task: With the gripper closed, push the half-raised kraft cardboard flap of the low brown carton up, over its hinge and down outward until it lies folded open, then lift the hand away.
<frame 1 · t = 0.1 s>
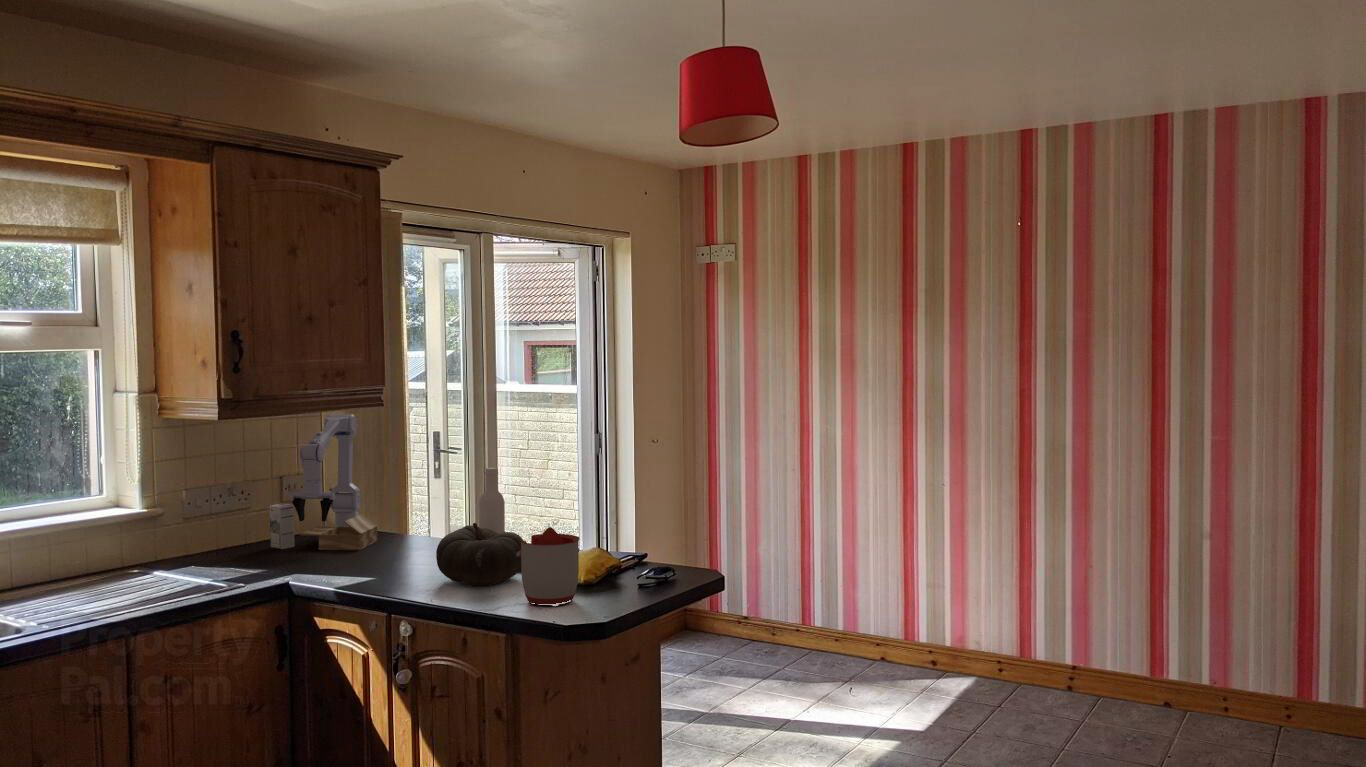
hand: (313, 520, 344), 10 cm above the worktop, fingers open, 7 cm apart
carton flap: (360, 524, 354), point 7 cm above the worktop, hinge at 35.0°
gourd: (482, 581, 301), on the worktop
citrus juicer: (547, 602, 275), on the worktop
syrup box: (282, 548, 351), on the worktop
bottle: (492, 564, 323), on the worktop
carton: (348, 545, 354), on the worktop
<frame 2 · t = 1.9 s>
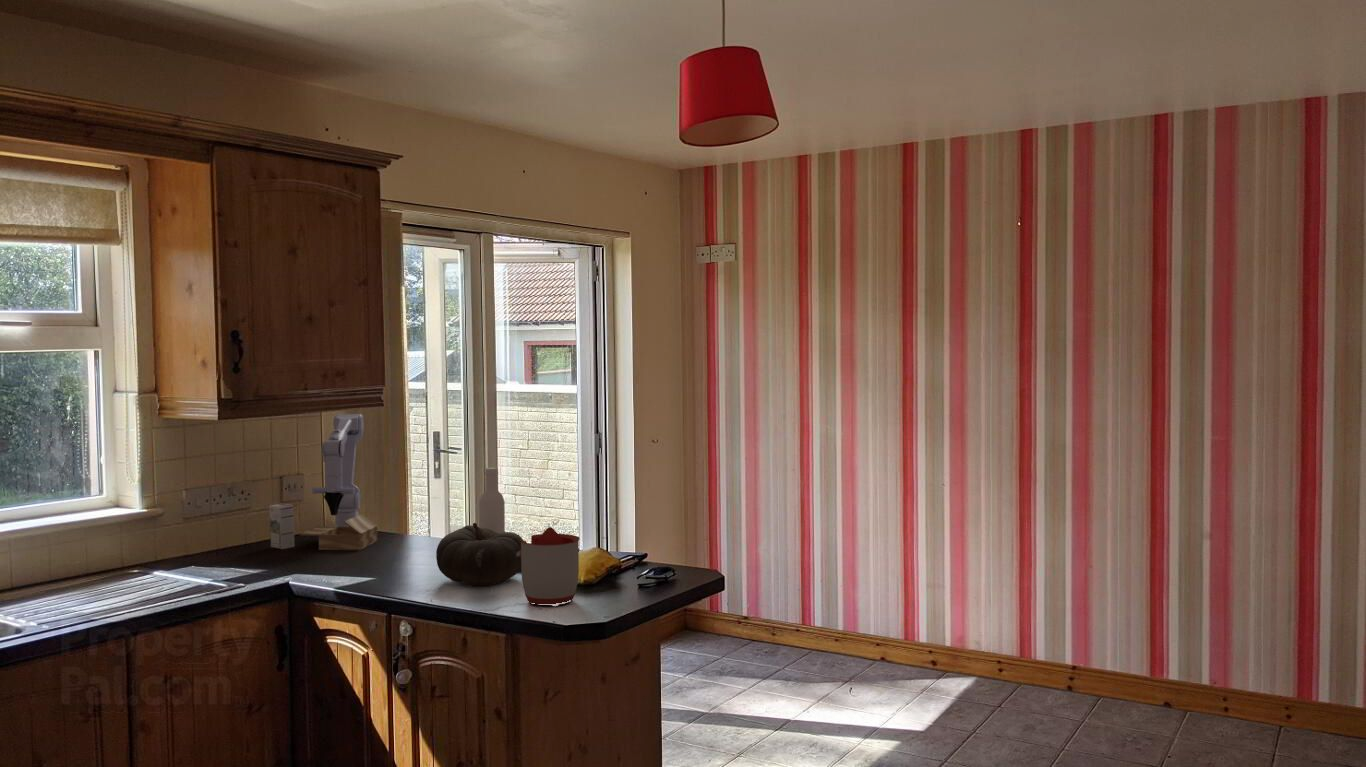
hand: (334, 514, 354), 10 cm above the worktop, fingers closed
nothing on the worktop moved.
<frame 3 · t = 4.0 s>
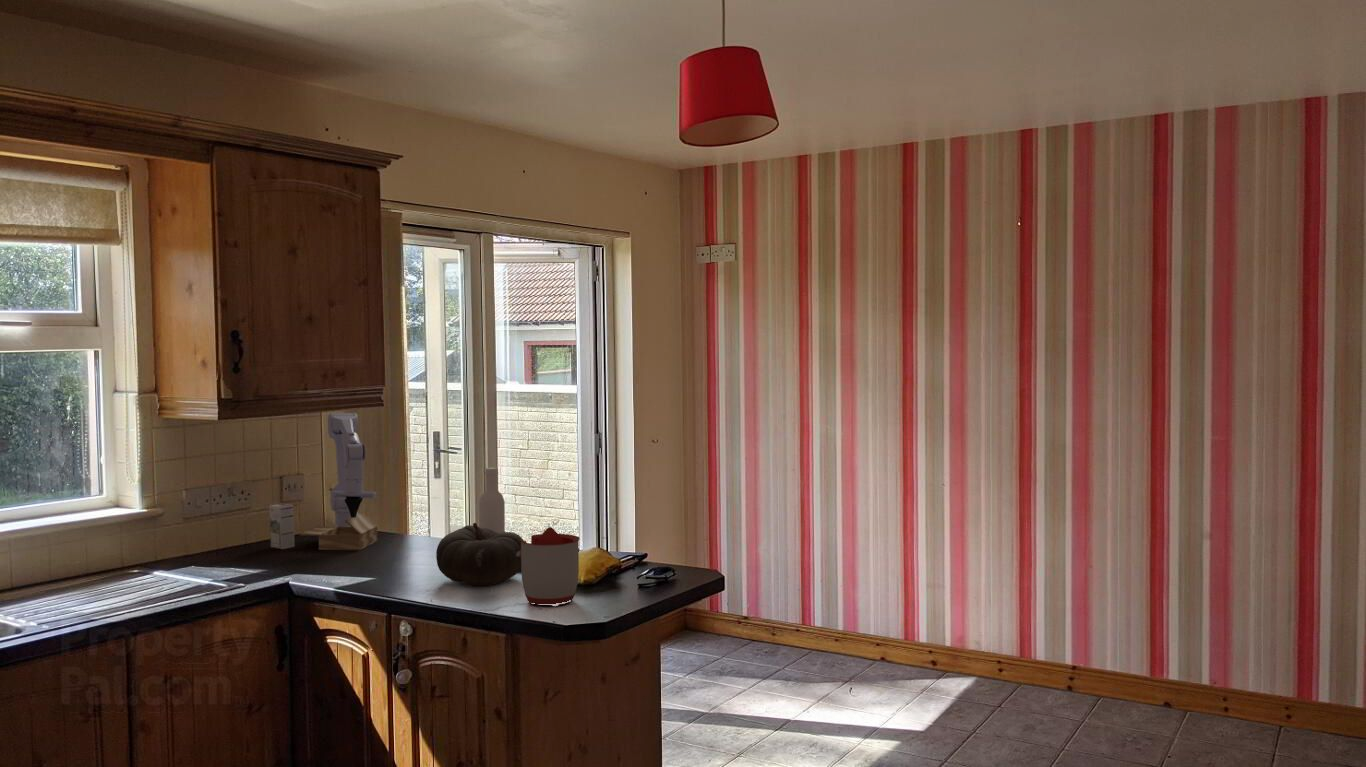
hand: (354, 518, 354), 9 cm above the worktop, fingers closed, pressing on carton flap
carton flap: (361, 523, 354), point 7 cm above the worktop, hinge at 39.8°, touching gripper
everything else where it was.
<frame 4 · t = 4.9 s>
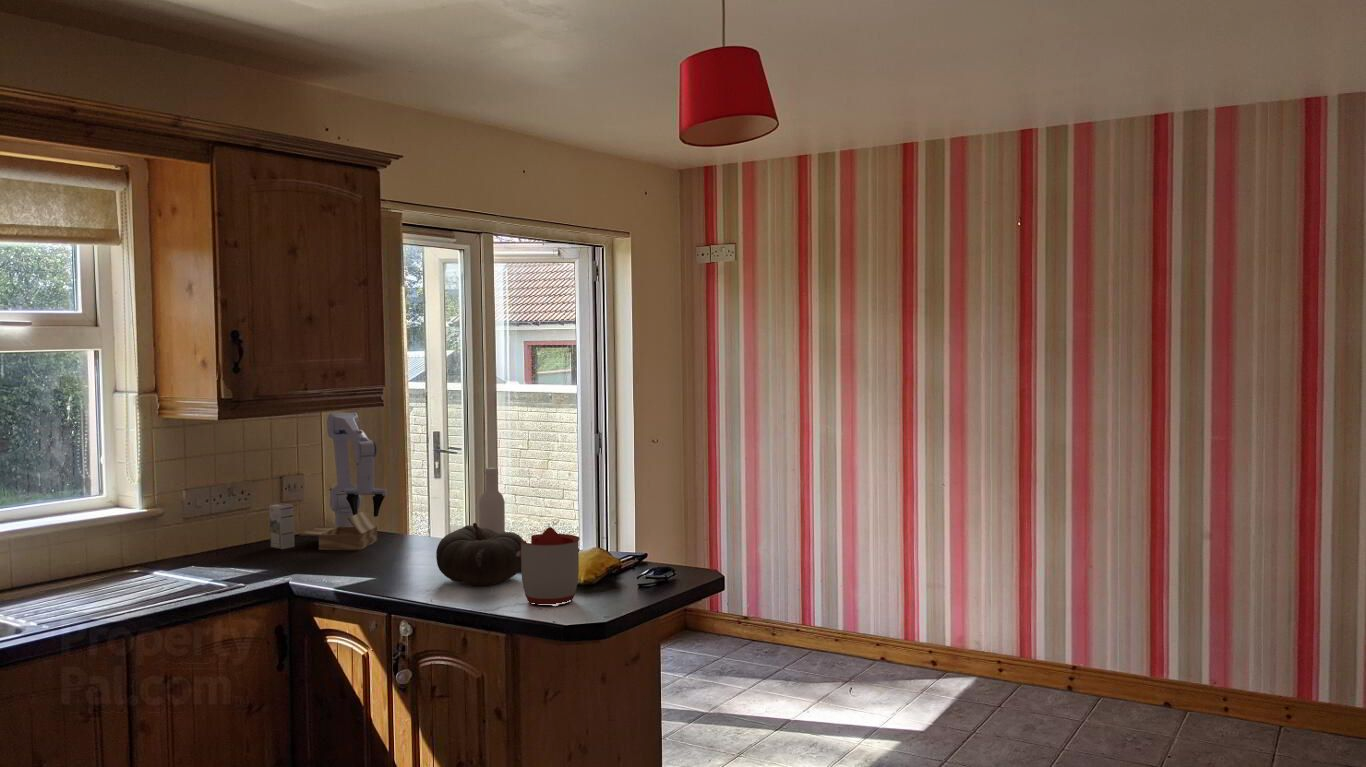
hand: (365, 516, 353), 10 cm above the worktop, fingers open, 7 cm apart
carton flap: (362, 522, 354), point 8 cm above the worktop, hinge at 50.1°, touching gripper
everything else where it was.
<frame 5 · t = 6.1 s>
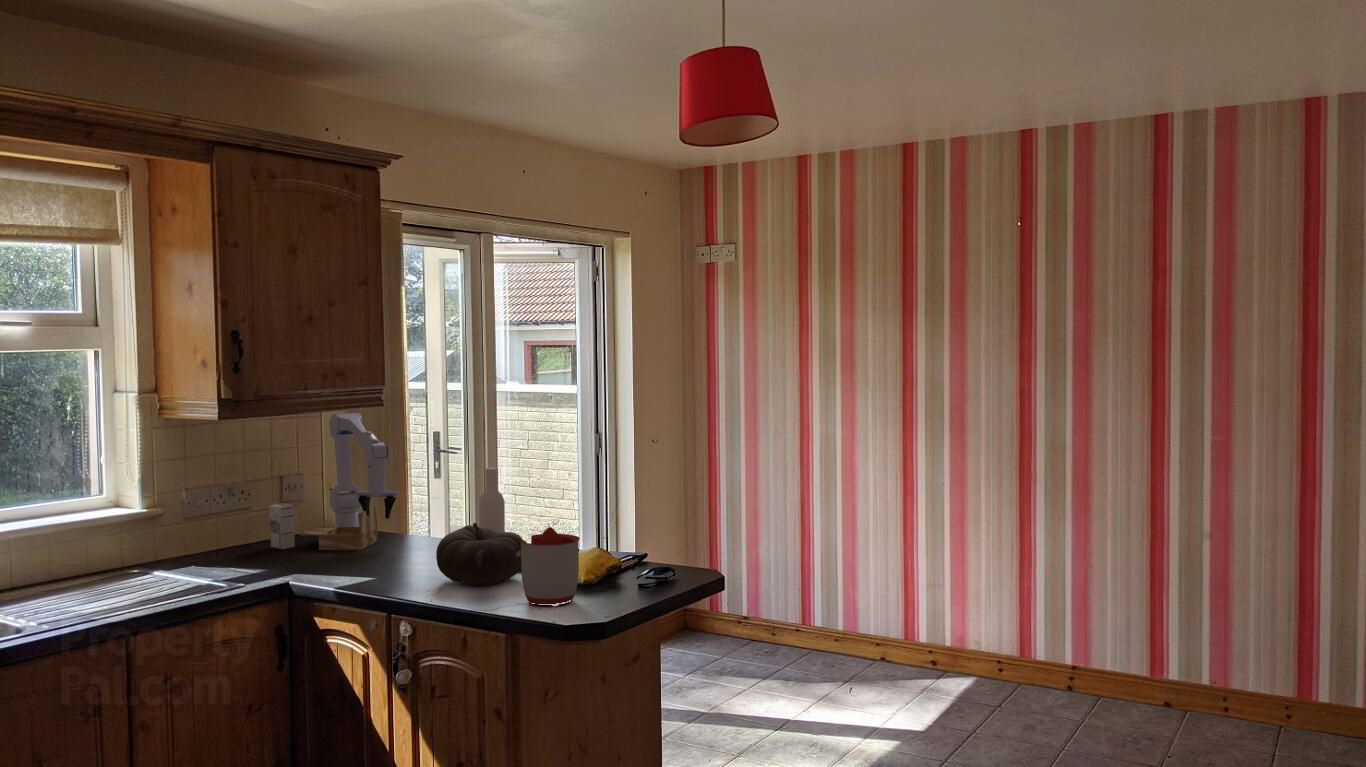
hand: (377, 518, 353), 9 cm above the worktop, fingers open, 6 cm apart
carton flap: (368, 520, 353), point 9 cm above the worktop, hinge at 84.1°, touching gripper
everything else where it was.
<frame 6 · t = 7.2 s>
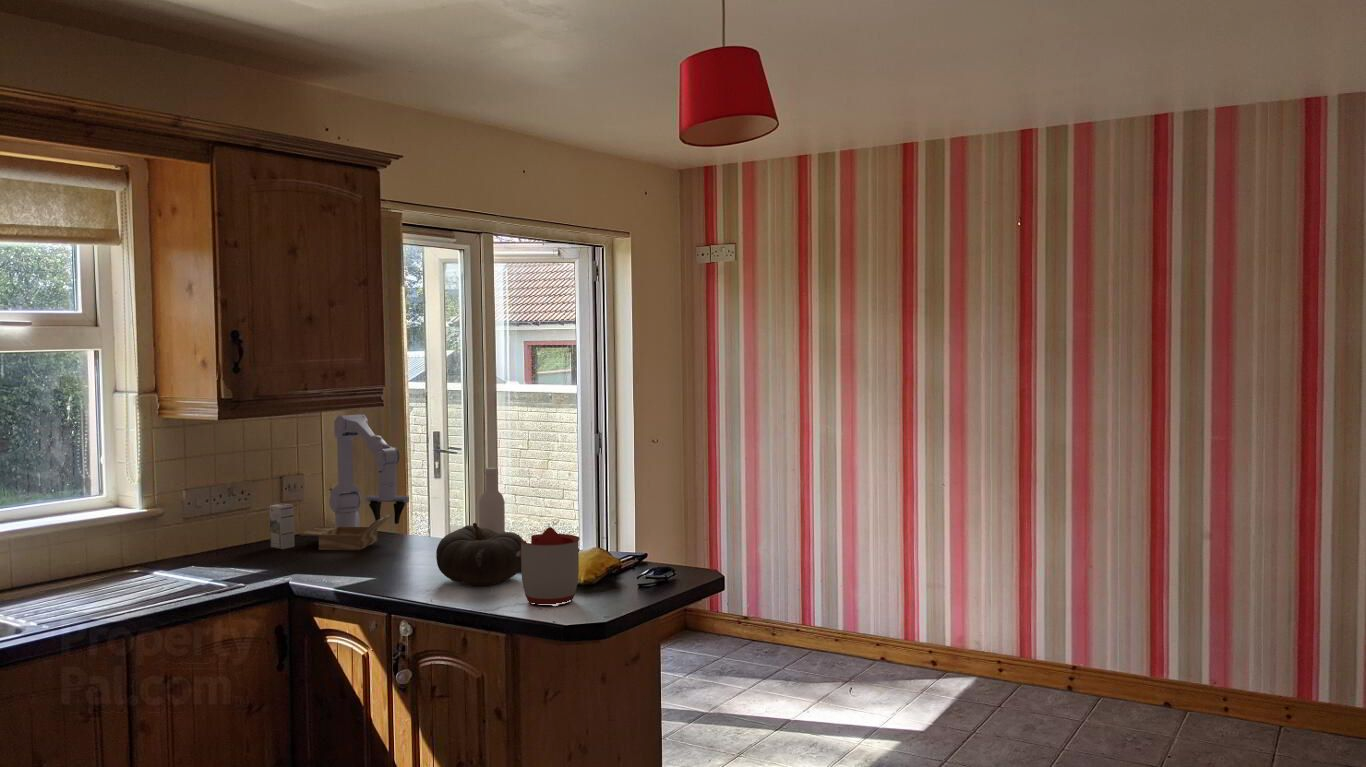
hand: (387, 523, 353), 8 cm above the worktop, fingers open, 6 cm apart
carton flap: (376, 524, 353), point 7 cm above the worktop, hinge at 137.9°, touching gripper
everything else where it was.
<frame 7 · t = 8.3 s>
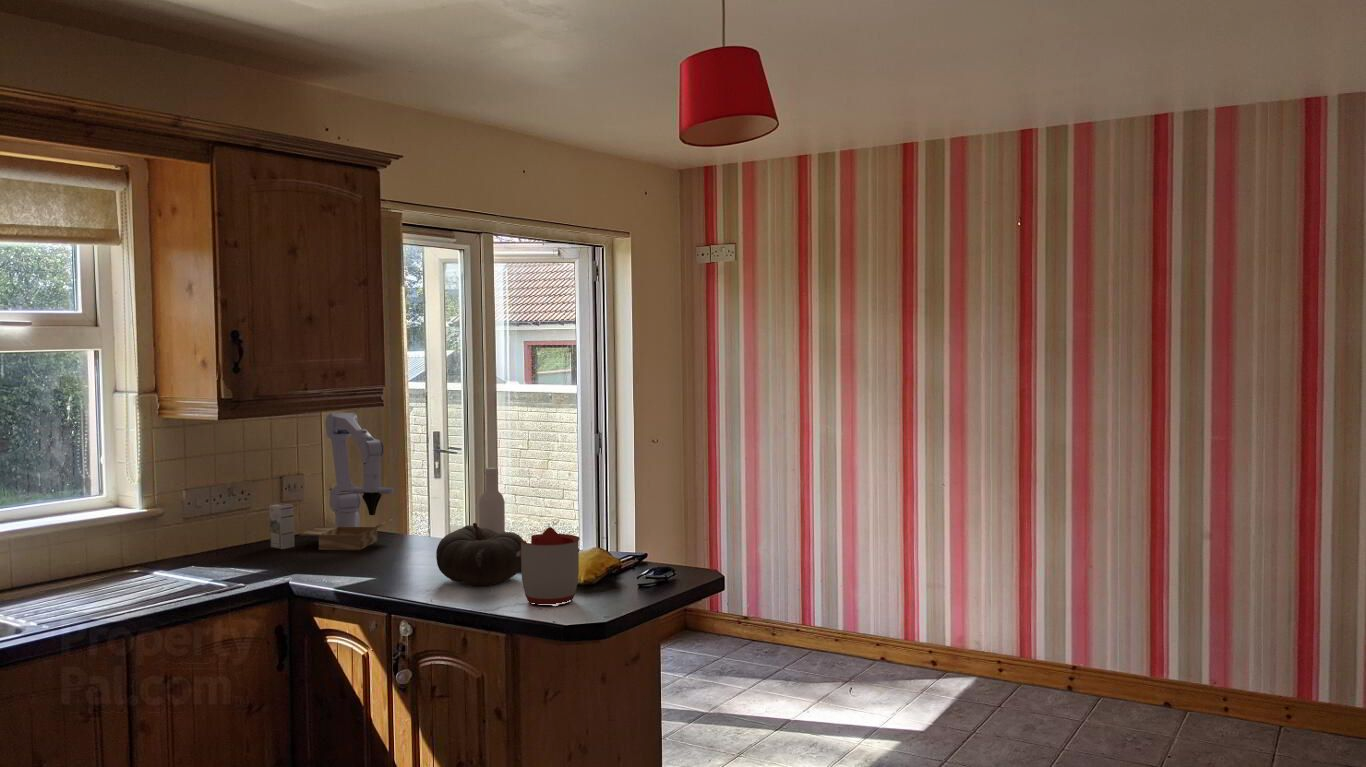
hand: (372, 514, 356), 10 cm above the worktop, fingers closed
carton flap: (377, 526, 353), point 6 cm above the worktop, hinge at 151.5°
everything else where it was.
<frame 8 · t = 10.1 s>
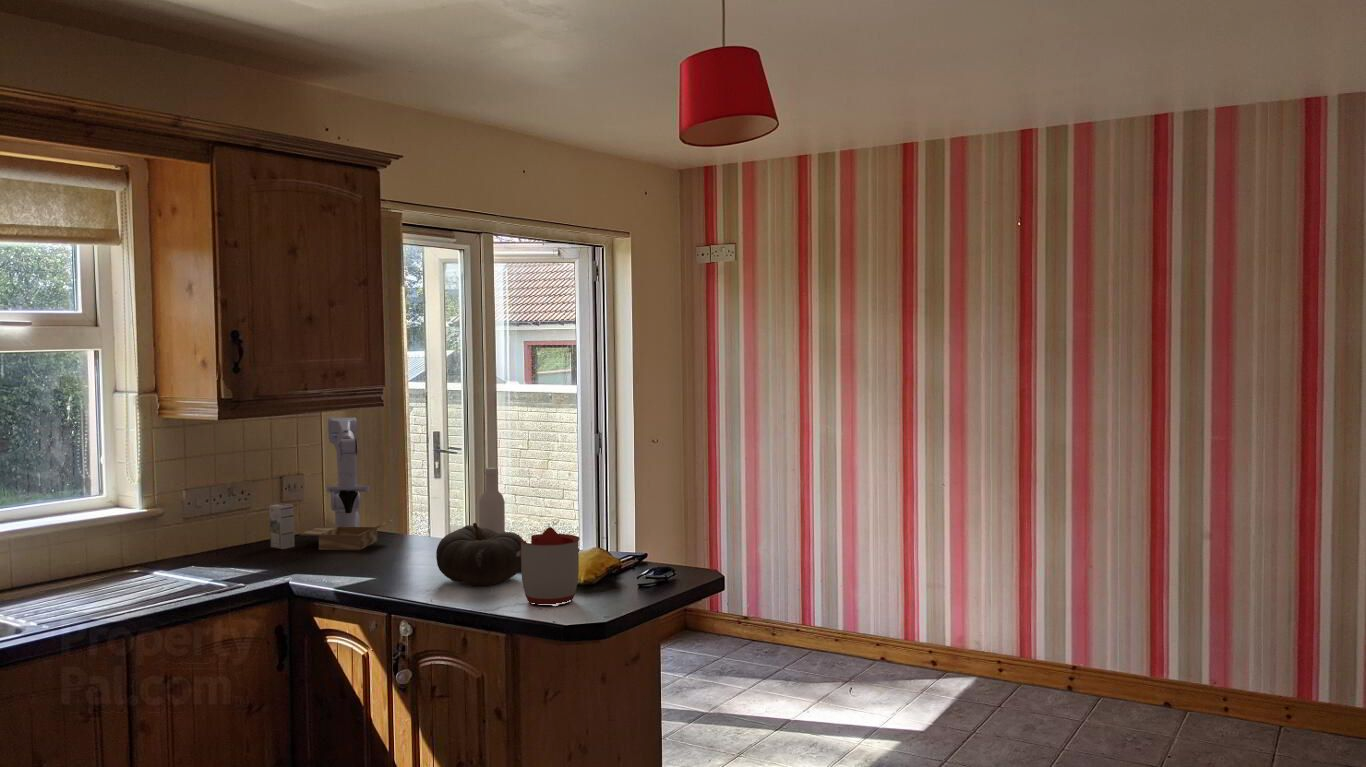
hand: (348, 512, 358), 10 cm above the worktop, fingers closed
carton flap: (377, 527, 353), point 6 cm above the worktop, hinge at 153.1°
everything else where it was.
at the end: carton flap at +153° (first picture: +35°); syrup box moved 0.2 cm from its start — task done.
